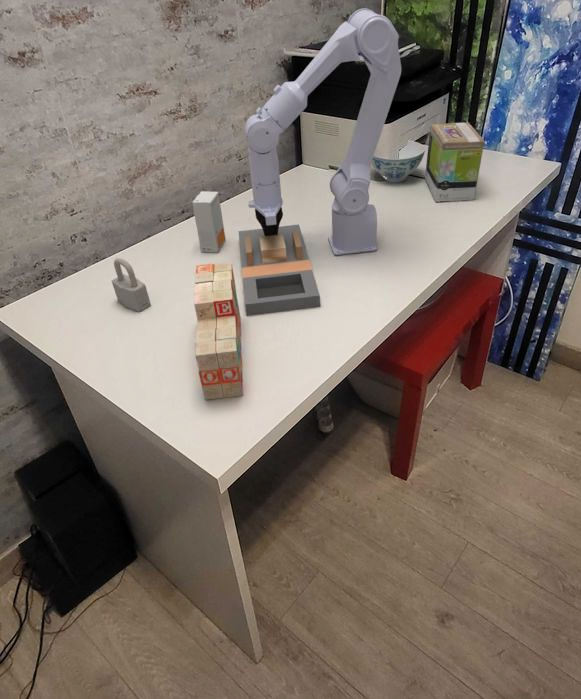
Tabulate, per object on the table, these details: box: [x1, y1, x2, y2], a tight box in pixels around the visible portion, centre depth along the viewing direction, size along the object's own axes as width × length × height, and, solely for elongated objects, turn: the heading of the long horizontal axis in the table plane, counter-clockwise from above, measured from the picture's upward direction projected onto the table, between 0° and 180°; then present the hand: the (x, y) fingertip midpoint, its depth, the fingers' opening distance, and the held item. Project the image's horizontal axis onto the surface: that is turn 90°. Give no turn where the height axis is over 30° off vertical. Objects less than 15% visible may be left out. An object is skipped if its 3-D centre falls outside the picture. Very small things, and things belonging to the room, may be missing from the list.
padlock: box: [111, 257, 152, 313], centre depth 102 cm, size 7×4×10 cm, turn 51°
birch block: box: [259, 234, 287, 263], centre depth 110 cm, size 5×6×3 cm
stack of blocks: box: [193, 261, 244, 401], centre depth 87 cm, size 21×6×12 cm, turn 6°
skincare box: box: [191, 190, 227, 253], centre depth 117 cm, size 6×4×12 cm
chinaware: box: [371, 139, 426, 183], centre depth 143 cm, size 15×15×8 cm
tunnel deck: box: [238, 224, 321, 316], centre depth 109 cm, size 14×30×6 cm, turn 7°
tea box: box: [424, 122, 485, 203], centre depth 132 cm, size 15×10×15 cm
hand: (271, 241), depth 114 cm, fingers closed
